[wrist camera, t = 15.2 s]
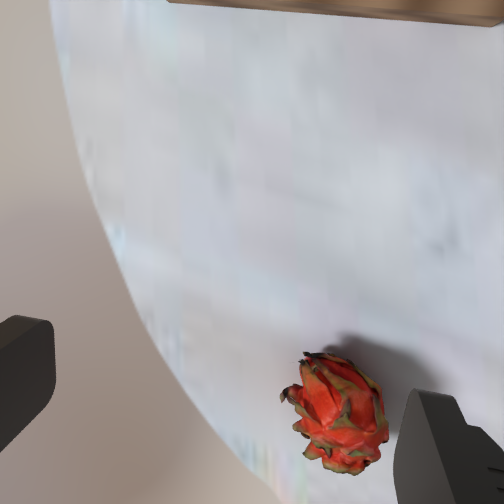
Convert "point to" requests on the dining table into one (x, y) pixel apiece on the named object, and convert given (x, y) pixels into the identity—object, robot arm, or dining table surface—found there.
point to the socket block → (381, 9)
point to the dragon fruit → (338, 413)
